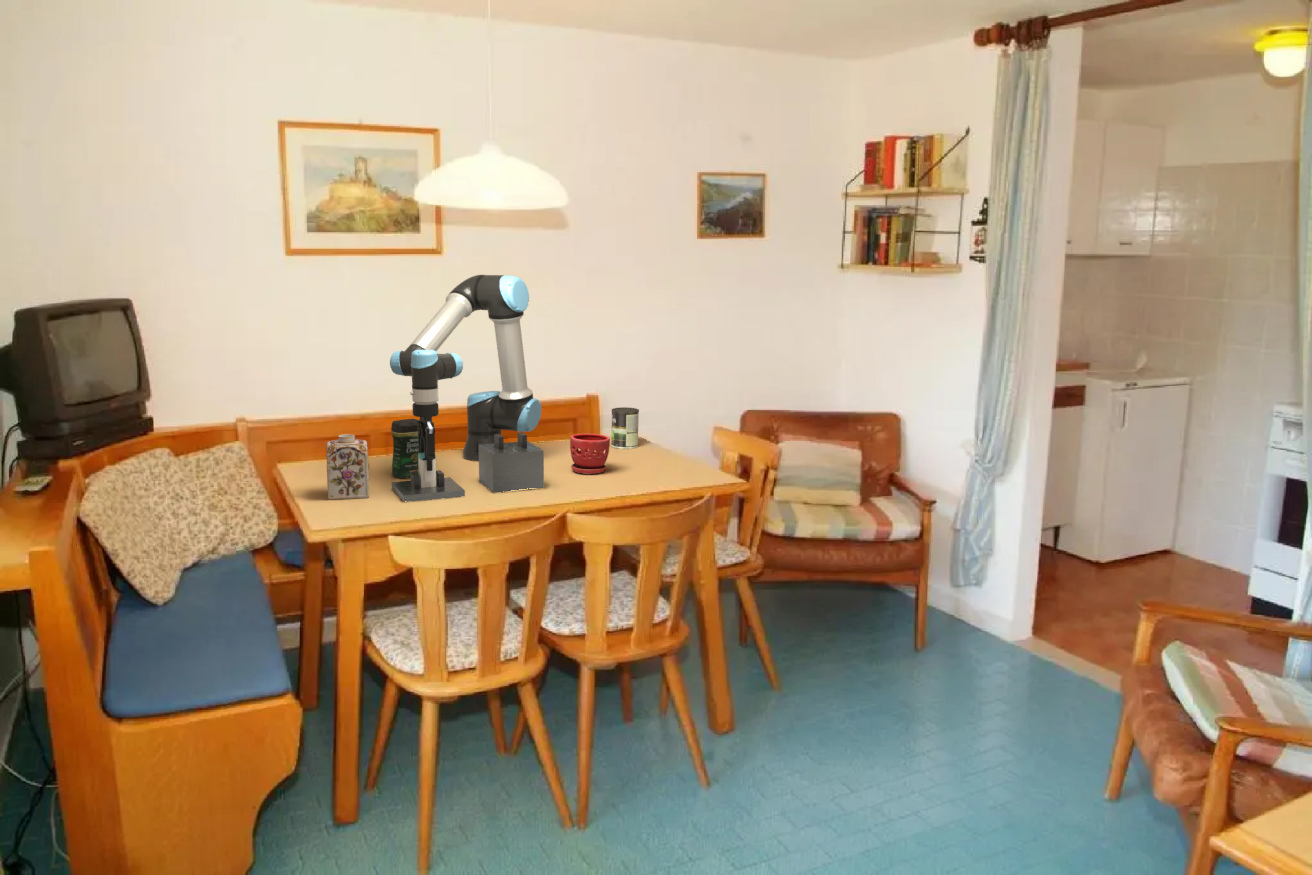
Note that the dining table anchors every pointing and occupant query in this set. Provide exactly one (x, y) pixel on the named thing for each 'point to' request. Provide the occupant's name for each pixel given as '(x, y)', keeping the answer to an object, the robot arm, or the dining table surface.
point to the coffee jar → (405, 448)
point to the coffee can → (625, 428)
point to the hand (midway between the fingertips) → (427, 479)
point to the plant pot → (589, 453)
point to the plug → (421, 472)
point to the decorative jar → (347, 468)
